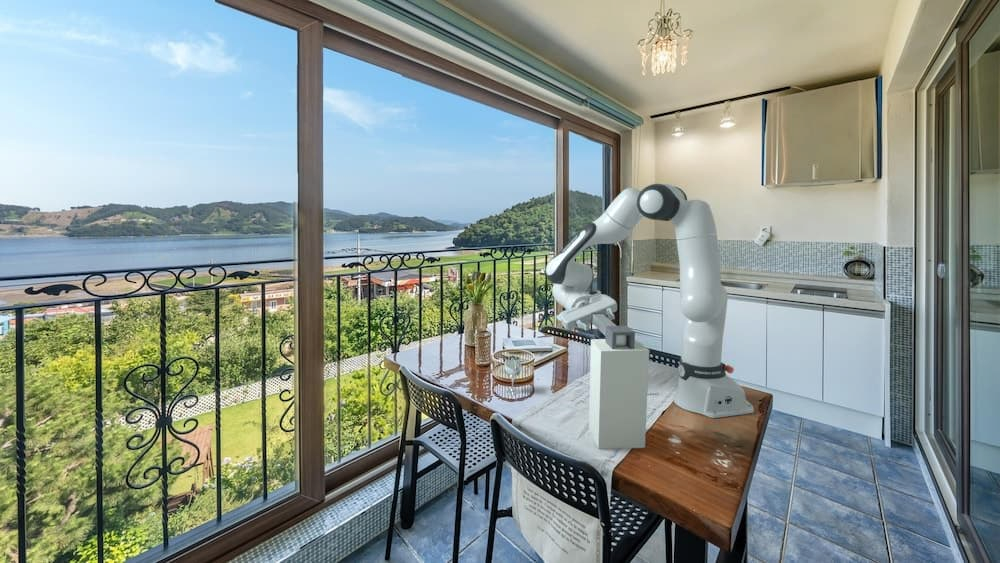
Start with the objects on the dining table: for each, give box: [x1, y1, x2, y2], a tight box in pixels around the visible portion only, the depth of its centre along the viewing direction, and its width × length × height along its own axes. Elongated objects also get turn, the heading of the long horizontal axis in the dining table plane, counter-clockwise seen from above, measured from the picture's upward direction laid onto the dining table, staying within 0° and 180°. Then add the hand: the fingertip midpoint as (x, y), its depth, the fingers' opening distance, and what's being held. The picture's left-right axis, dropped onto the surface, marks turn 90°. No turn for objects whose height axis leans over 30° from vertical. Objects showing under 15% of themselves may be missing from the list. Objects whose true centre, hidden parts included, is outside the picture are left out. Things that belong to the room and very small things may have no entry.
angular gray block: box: [590, 312, 627, 346], centre depth 113 cm, size 3×24×3 cm, turn 1°
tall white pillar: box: [588, 325, 650, 450], centre depth 104 cm, size 12×10×30 cm
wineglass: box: [503, 355, 522, 395], centre depth 135 cm, size 6×6×12 cm
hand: (600, 323), depth 131 cm, fingers open, 8 cm apart
